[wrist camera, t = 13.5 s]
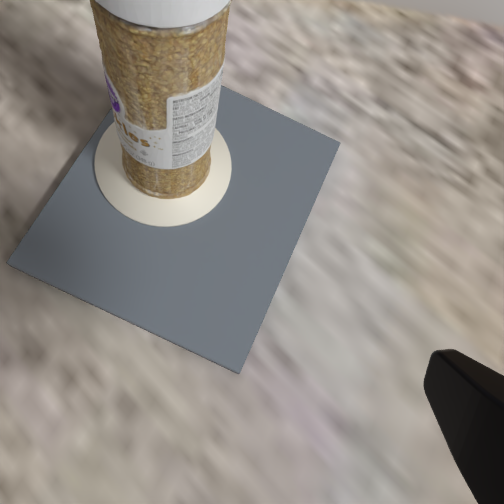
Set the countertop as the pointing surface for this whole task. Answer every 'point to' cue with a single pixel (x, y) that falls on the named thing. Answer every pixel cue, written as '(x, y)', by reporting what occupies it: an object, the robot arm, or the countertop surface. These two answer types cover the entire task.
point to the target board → (185, 232)
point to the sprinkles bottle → (163, 87)
